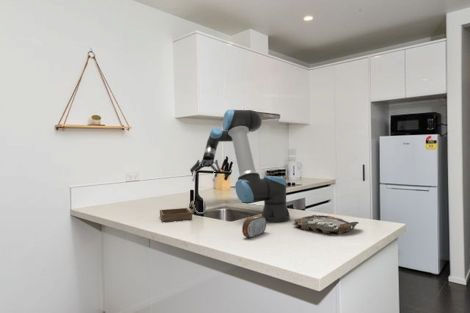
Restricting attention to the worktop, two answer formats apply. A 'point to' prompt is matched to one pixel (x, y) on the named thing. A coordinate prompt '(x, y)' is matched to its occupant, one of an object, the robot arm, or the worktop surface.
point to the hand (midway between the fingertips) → (203, 180)
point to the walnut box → (175, 215)
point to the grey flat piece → (325, 224)
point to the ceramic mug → (195, 208)
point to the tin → (254, 226)
